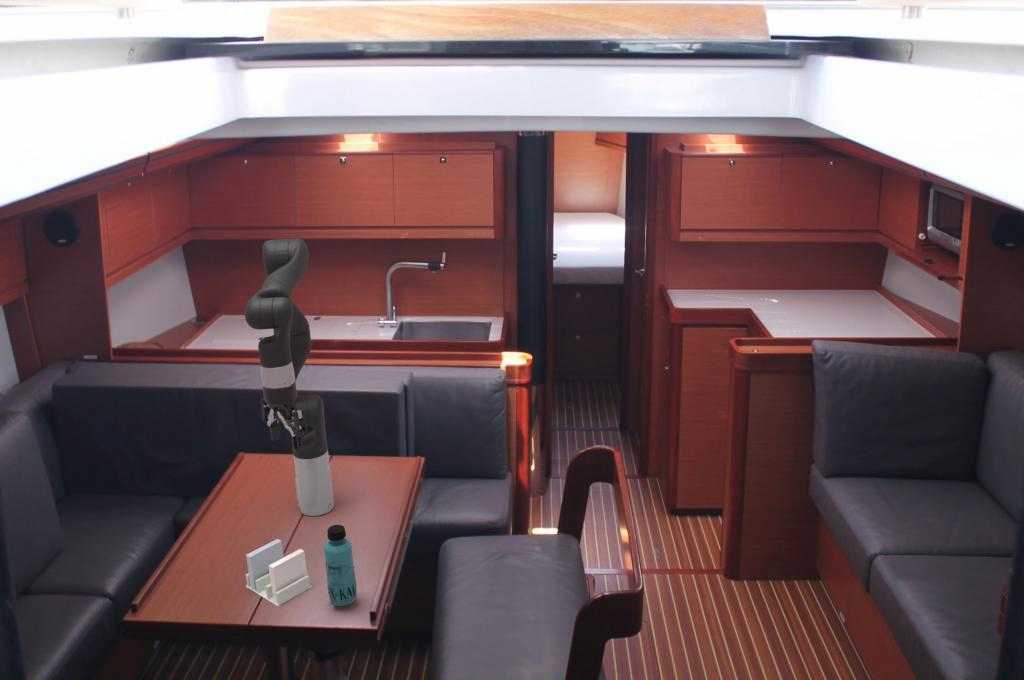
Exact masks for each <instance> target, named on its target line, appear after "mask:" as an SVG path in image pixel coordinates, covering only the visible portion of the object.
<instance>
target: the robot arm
mask: <svg viewBox="0 0 1024 680" xmlns="http://www.w3.org/2000/svg"><path fill="white" fill-rule="evenodd" d="M262 245H263V246H262V263H263V268H264V274H265V279H264V282H263V284H262V285H261V286H262V287H261V289H260V290H259V291H258V292H257V293H255V294H254V295H253V296H252V297H250V298H249V300H248V302H246V306H245V309H244V318H245V319H244V320H245V322H246V323H247V325H248V327H250V328H251V329H254V330H258V331H259V330H272V329H273V330H272V331H273V335H269V336H265V337H263V338H261V339H260V340H259V341H258V345H257V348H258V357H259V362H260V378H261V379H260V380H261V385H262V393H263V398H261V399H260V408H261V419H262V421H263V423H266V425H267V426H268V427H269V433H270V438H271V441H274V442H276V441H278V440H280V439H281V437H282V436H281V435H282V434H281V429H280V424H279V422H280V423H282V424H283V426H284V428H285V430H286V431H288V432H289V433H290V435H291V444H292V456H293V462H294V469H295V476H294V483H295V491H296V499H297V506H298V508H299V509H300V512H301V513H302V514H303V515H305V516H308V517H317V516H322V515H326V514H328V513H330V512H331V511H333V509H334V508H335V501H334V491H333V483H332V482H333V481H332V475H331V473H332V472H331V466H330V457H329V450H328V449H329V447H328V442H327V441H328V440H327V432H326V421H325V420H326V418H325V417H326V416H325V405H324V401H323V398H322V397H321V396H320V395H319V394H310V395H309V394H308V395H298V391H297V379H298V377H299V375H300V372H301V370H302V369H303V367H304V365H305V363H306V362H307V360H308V358H309V356H310V353H311V351H312V338H311V328H310V324H309V321H308V319H307V318H306V316H305V315H304V314H303V312H302V311H301V310H300V308H299V307H298V306H297V305H296V303H294V301H293V299H292V295H293V292H294V290H295V287H296V286H297V285H298V284H299V283H300V281H301V280H302V278H303V277H304V276H305V275H306V273H307V270H308V268H309V265H310V264H309V262H310V261H309V260H310V257H309V256H310V254H309V249H308V245H307V243H306V242H305V241H304V240H303V239H301V238H286V239H285V238H284V239H281V238H280V239H269V240H266V241H264V243H263V244H262ZM267 413H268V415H267ZM308 431H310V432H309V433H308ZM304 434H305V435H304ZM302 435H303V436H302Z"/></svg>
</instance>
